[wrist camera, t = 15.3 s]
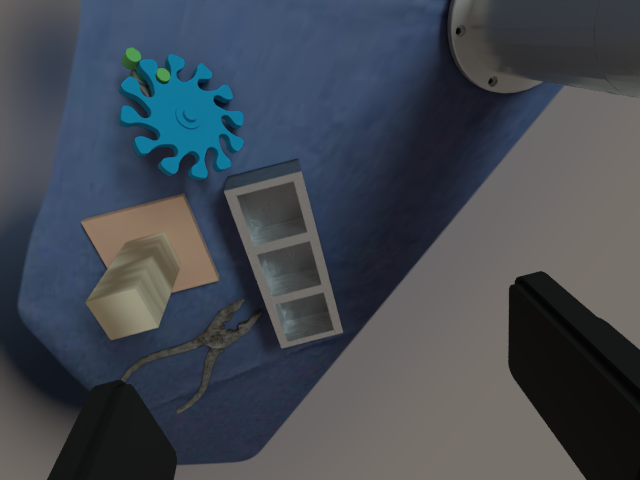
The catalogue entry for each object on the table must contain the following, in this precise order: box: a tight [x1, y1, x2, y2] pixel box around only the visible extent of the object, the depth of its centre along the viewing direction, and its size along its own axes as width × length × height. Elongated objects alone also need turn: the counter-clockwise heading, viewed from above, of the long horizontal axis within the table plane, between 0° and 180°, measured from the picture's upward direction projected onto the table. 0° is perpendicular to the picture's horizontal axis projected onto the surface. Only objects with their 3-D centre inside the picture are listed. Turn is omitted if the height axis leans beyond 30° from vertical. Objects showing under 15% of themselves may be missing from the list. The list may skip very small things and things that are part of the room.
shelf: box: [224, 159, 343, 348], centre depth 41 cm, size 7×19×4 cm, turn 13°
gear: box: [119, 48, 244, 180], centre depth 33 cm, size 11×6×10 cm
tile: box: [81, 193, 219, 293], centre depth 40 cm, size 10×10×1 cm
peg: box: [85, 231, 181, 340], centre depth 36 cm, size 4×4×10 cm
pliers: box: [121, 297, 262, 414], centre depth 47 cm, size 10×1×20 cm
